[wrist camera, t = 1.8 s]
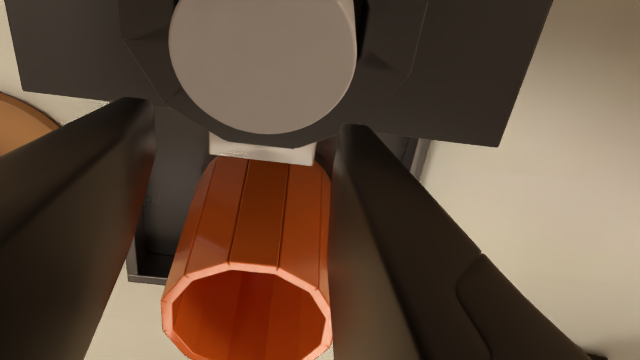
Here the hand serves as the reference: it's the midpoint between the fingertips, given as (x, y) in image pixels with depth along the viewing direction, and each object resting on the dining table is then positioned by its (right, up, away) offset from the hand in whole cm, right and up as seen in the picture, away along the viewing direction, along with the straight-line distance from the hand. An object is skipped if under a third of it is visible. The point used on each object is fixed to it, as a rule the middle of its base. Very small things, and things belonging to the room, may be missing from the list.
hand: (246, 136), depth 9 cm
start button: (0, +3, +4) cm, 5 cm away
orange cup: (-1, -2, +17) cm, 17 cm away
